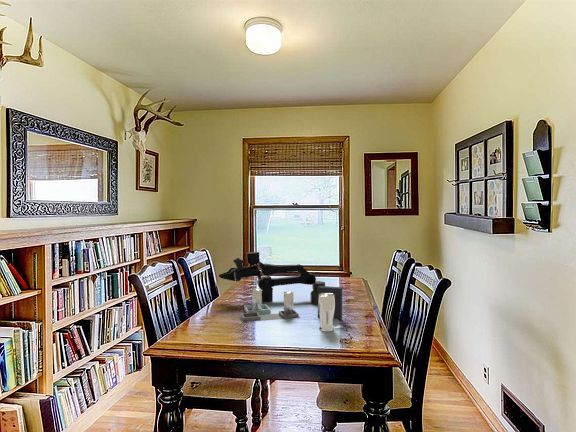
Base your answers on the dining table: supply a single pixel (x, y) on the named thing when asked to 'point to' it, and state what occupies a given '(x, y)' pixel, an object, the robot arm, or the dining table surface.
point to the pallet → (267, 316)
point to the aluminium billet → (257, 299)
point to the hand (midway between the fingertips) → (219, 276)
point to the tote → (257, 310)
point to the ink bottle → (315, 292)
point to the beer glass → (326, 311)
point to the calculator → (338, 299)
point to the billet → (288, 302)
